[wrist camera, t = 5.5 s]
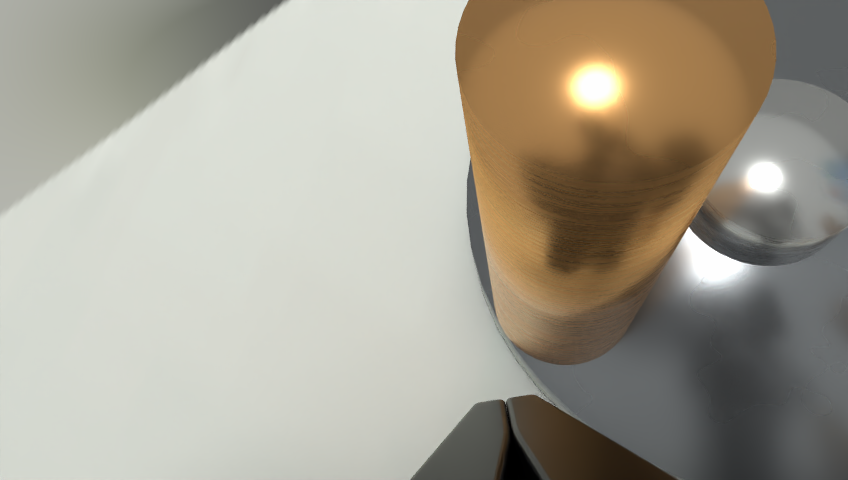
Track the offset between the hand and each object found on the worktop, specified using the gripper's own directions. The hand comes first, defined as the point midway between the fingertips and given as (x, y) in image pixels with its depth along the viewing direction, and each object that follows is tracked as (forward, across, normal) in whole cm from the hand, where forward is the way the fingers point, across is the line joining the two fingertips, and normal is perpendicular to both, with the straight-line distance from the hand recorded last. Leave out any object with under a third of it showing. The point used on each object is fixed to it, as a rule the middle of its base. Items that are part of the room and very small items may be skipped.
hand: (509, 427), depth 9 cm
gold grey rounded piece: (+7, +7, -1) cm, 10 cm away
